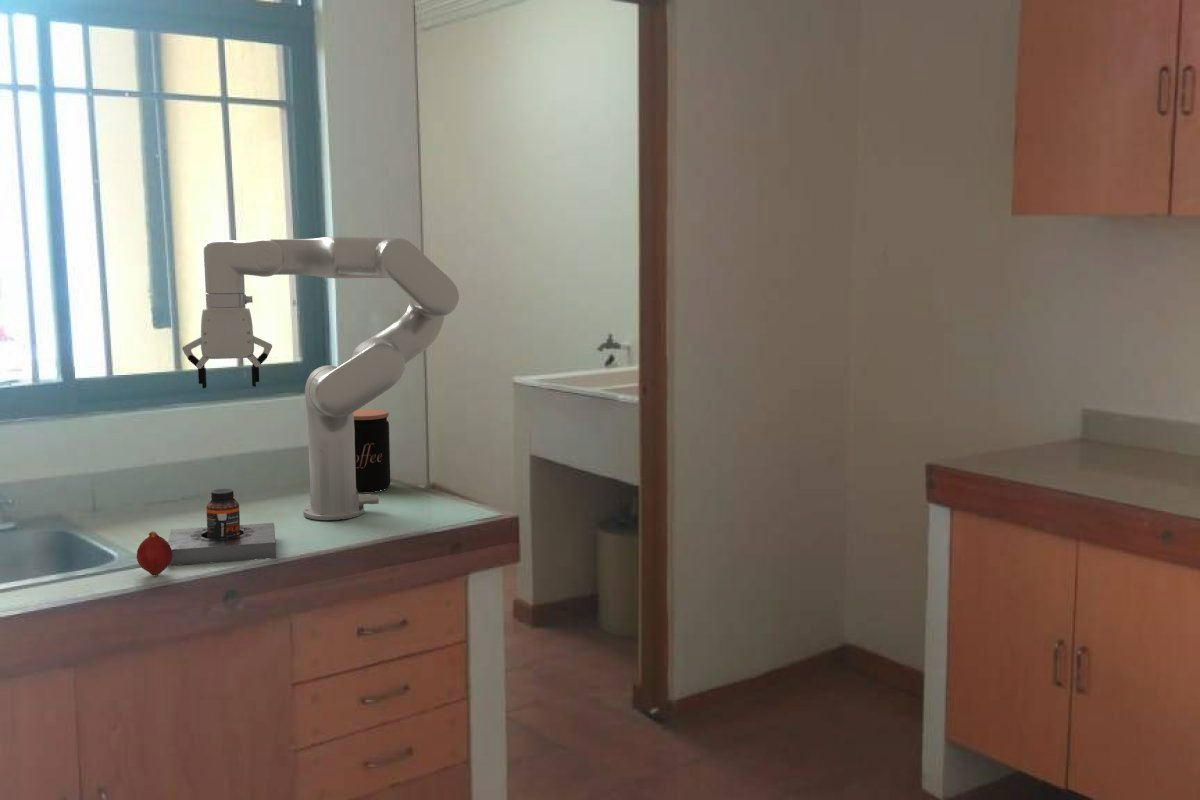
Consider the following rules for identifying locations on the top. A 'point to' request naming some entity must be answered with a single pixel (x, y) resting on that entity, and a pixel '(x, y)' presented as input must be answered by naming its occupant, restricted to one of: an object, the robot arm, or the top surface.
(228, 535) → the supplement bottle
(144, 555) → the onion
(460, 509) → the top surface
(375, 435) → the coffee jar
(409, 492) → the top surface
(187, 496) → the top surface
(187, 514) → the top surface
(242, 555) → the jig plate
